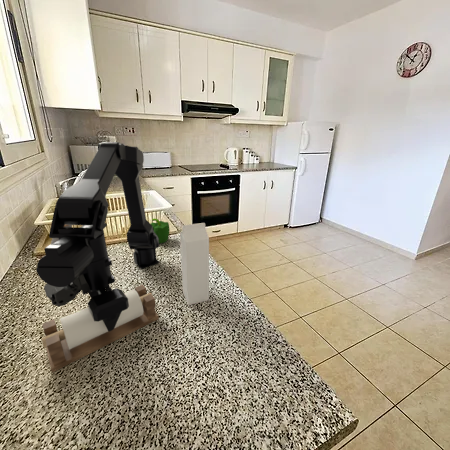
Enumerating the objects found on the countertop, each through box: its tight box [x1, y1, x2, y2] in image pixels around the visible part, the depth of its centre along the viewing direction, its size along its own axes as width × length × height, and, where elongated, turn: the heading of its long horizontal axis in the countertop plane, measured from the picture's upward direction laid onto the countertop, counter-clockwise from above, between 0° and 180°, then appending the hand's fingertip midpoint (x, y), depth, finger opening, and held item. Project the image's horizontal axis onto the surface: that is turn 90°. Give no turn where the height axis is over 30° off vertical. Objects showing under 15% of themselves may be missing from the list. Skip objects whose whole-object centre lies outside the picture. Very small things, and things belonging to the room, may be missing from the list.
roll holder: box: [41, 284, 160, 374], centre depth 53 cm, size 22×7×6 cm, turn 131°
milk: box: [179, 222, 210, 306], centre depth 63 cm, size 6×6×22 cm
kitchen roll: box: [41, 289, 154, 350], centre depth 52 cm, size 22×6×6 cm, turn 131°
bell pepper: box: [150, 217, 171, 244], centre depth 98 cm, size 8×8×10 cm
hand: (104, 317), depth 53 cm, fingers open, 9 cm apart
